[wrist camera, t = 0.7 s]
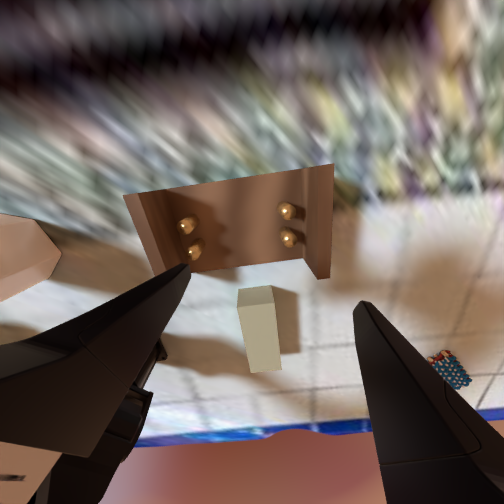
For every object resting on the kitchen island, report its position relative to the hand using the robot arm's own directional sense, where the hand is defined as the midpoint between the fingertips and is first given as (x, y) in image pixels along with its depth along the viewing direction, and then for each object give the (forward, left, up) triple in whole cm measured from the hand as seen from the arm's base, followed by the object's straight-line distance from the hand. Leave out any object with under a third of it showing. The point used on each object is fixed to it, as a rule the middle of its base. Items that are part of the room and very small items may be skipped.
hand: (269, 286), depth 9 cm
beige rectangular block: (-15, +2, -13) cm, 20 cm away
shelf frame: (0, +2, -13) cm, 13 cm away
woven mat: (-33, -27, -14) cm, 45 cm away
